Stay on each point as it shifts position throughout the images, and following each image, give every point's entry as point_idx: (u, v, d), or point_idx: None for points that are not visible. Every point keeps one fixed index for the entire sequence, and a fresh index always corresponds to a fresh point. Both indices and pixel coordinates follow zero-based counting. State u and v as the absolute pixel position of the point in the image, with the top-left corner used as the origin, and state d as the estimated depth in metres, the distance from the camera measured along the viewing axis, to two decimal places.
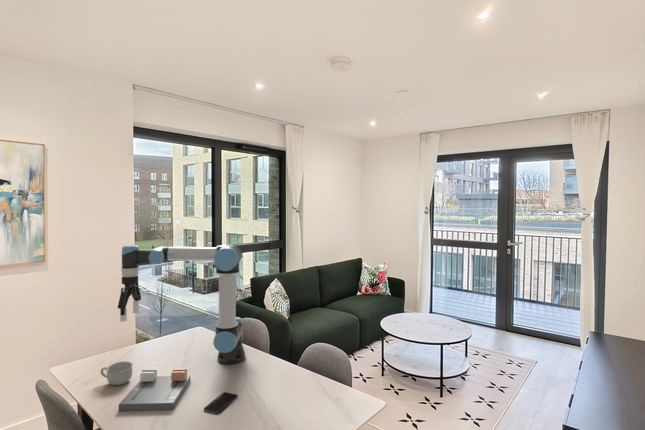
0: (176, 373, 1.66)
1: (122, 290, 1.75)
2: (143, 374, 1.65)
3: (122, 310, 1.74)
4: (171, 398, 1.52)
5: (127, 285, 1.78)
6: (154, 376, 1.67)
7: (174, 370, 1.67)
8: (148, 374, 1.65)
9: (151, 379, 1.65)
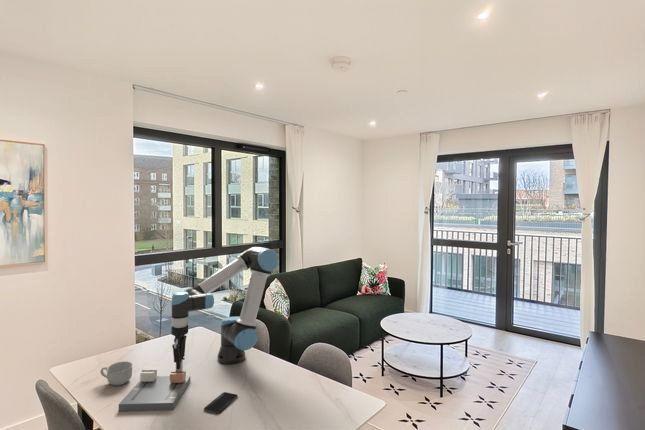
0: (175, 375, 1.64)
1: (174, 347, 1.63)
2: (143, 374, 1.65)
3: (178, 364, 1.67)
4: (171, 398, 1.52)
5: (177, 336, 1.65)
6: (154, 376, 1.67)
7: (173, 372, 1.66)
8: (148, 374, 1.65)
9: (151, 379, 1.65)
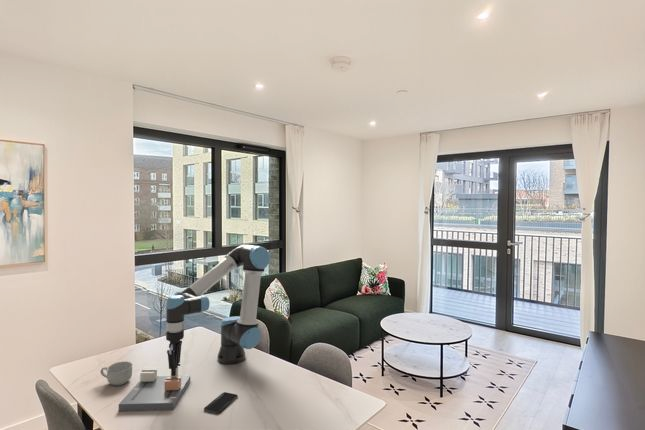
0: (170, 382, 1.58)
1: (169, 353, 1.56)
2: (143, 374, 1.65)
3: (173, 370, 1.60)
4: (171, 398, 1.52)
5: (173, 342, 1.58)
6: (154, 376, 1.67)
7: (167, 379, 1.59)
8: (148, 374, 1.65)
9: (151, 379, 1.65)
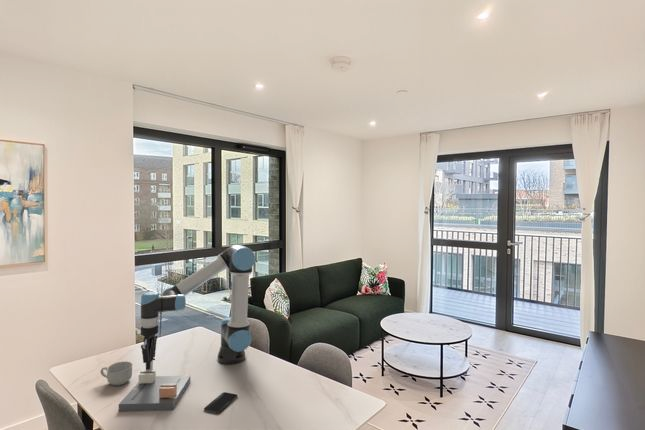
0: (164, 389, 1.51)
1: (142, 348, 1.62)
2: (141, 376, 1.63)
3: (148, 364, 1.66)
4: (171, 398, 1.52)
5: (147, 337, 1.64)
6: (153, 377, 1.65)
7: (162, 386, 1.53)
8: (146, 376, 1.63)
9: (150, 381, 1.64)
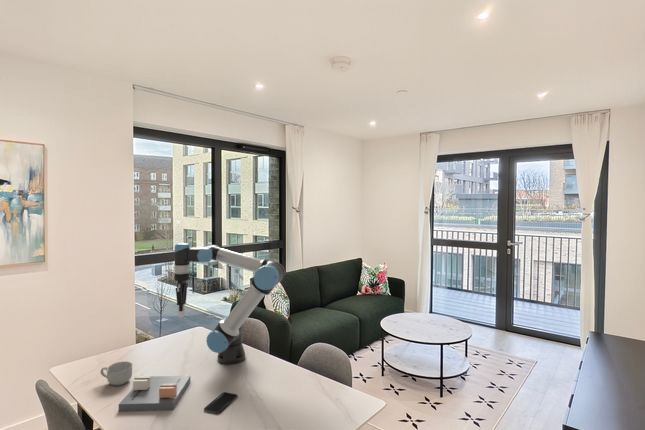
0: (164, 389, 1.51)
1: (177, 290, 1.83)
2: (136, 382, 1.57)
3: (180, 306, 1.87)
4: (171, 398, 1.52)
5: (180, 281, 1.85)
6: (148, 384, 1.59)
7: (162, 386, 1.53)
8: (141, 382, 1.57)
9: (144, 387, 1.58)
